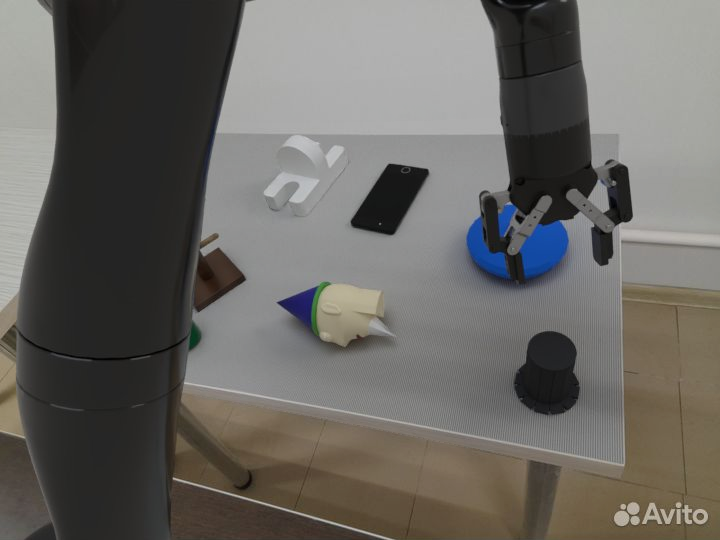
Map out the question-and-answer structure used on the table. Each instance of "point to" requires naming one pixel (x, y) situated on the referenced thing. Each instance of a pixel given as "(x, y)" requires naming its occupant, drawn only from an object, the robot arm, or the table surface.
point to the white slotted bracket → (304, 174)
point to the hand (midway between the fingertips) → (560, 271)
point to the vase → (536, 250)
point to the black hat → (548, 374)
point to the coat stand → (214, 275)
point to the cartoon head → (339, 312)
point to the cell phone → (389, 198)
